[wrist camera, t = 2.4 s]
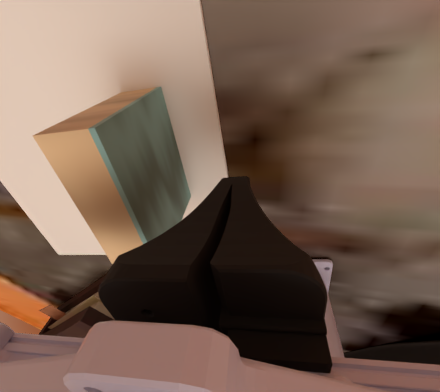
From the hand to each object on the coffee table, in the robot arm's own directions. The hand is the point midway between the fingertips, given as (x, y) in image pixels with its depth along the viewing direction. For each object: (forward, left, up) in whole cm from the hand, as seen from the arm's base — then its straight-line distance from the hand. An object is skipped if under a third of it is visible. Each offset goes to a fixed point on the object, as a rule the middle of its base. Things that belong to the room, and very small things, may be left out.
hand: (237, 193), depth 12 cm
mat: (0, +13, -7) cm, 14 cm away
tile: (0, +7, -7) cm, 9 cm away
